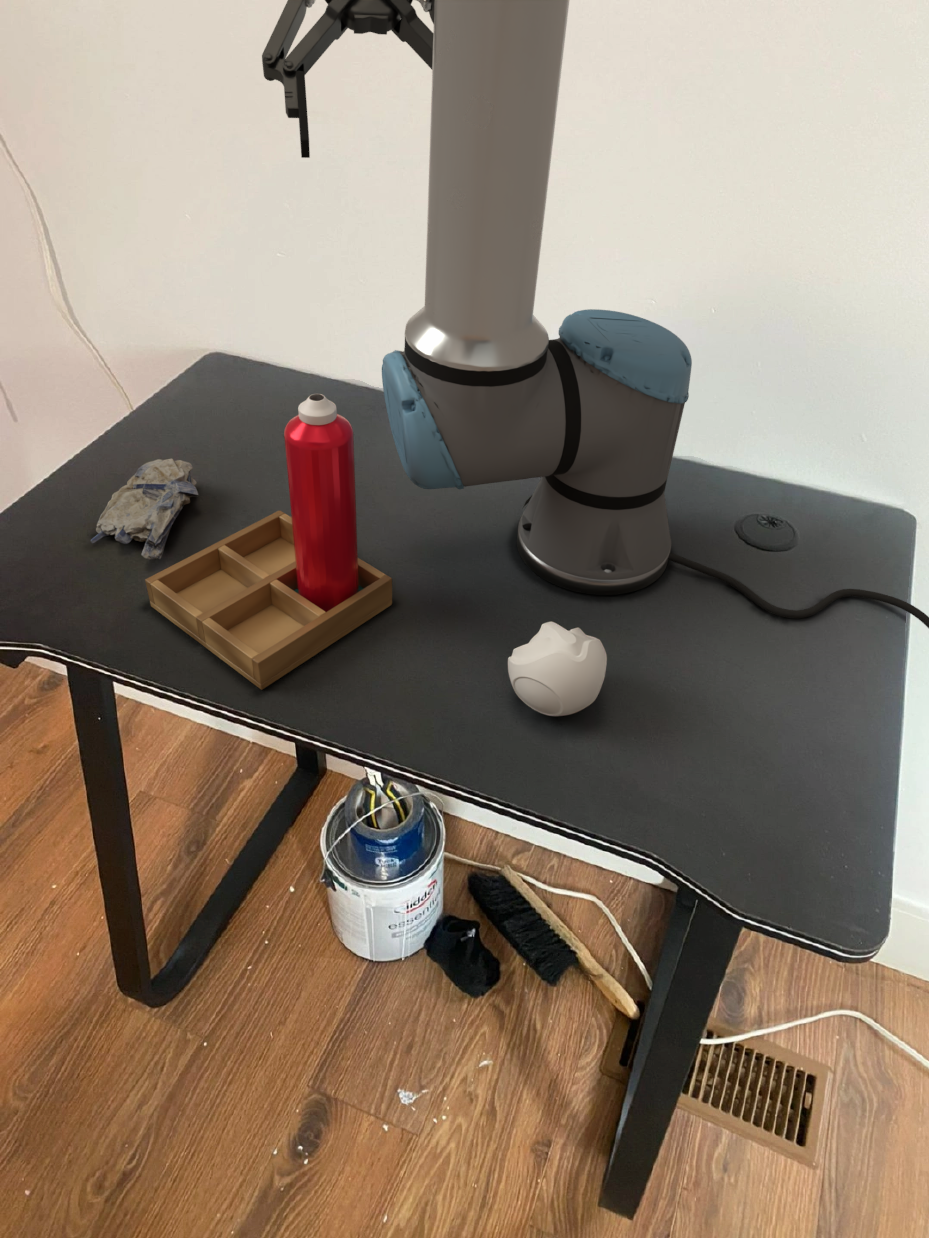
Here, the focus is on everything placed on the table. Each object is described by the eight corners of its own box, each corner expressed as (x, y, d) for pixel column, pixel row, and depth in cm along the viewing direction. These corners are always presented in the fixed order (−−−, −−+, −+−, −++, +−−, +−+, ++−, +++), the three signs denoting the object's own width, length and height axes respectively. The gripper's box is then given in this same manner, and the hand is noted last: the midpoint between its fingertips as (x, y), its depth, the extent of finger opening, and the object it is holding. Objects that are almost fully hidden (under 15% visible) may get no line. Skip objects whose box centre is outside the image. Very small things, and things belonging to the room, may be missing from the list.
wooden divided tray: (392, 604, 85) (392, 578, 83) (261, 690, 76) (258, 663, 74) (282, 535, 92) (279, 509, 90) (150, 606, 83) (144, 579, 81)
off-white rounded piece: (569, 659, 80) (581, 590, 75) (618, 717, 75) (634, 648, 70) (489, 686, 77) (495, 616, 72) (534, 748, 72) (545, 678, 67)
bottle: (345, 573, 87) (336, 376, 74) (368, 606, 83) (363, 406, 70) (290, 588, 85) (270, 388, 72) (311, 623, 81) (295, 420, 68)
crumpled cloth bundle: (147, 478, 99) (140, 443, 96) (220, 490, 98) (215, 455, 95) (75, 557, 88) (65, 521, 85) (157, 572, 87) (149, 535, 84)
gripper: (487, -32, 92) (504, 173, 90) (231, -43, 88) (245, 171, 86) (501, -95, 84) (520, 128, 83) (222, -110, 80) (237, 123, 79)
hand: (379, 150), depth 85 cm, fingers open, 13 cm apart
